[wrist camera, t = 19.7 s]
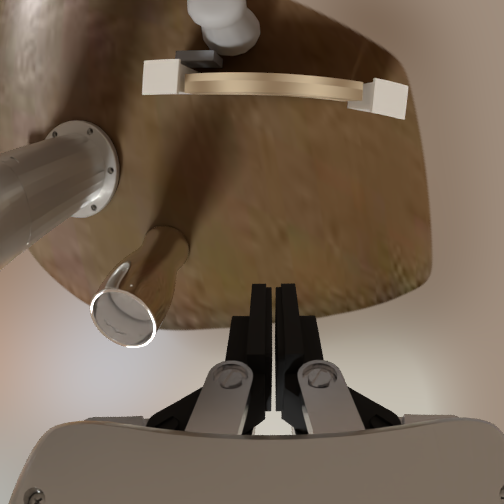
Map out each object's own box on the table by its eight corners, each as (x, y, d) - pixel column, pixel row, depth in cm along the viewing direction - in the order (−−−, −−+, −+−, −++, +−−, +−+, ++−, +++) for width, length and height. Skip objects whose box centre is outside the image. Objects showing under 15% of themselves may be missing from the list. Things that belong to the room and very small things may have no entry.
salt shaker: (271, 28, 28) (273, -12, 16) (241, 68, 30) (225, 47, 18) (226, 3, 27) (204, -44, 15) (196, 43, 29) (158, 14, 17)
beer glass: (169, 211, 38) (119, 272, 24) (204, 254, 40) (174, 332, 26) (130, 240, 40) (74, 307, 26) (164, 280, 42) (125, 358, 28)
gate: (343, 86, 30) (363, 82, 23) (343, 101, 30) (362, 100, 24) (201, 80, 30) (184, 73, 24) (201, 95, 31) (184, 92, 24)
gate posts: (173, 96, 32) (142, 94, 23) (176, 59, 30) (145, 46, 21) (370, 114, 31) (404, 119, 23) (374, 78, 30) (409, 71, 21)
